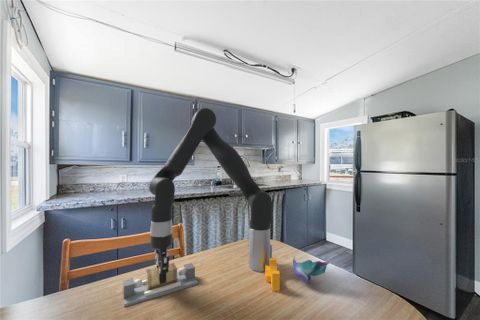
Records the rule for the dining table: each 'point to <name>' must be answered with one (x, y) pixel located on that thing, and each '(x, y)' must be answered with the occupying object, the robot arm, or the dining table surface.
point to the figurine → (309, 269)
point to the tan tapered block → (154, 277)
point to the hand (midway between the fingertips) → (161, 278)
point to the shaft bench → (138, 292)
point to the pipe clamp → (273, 275)
